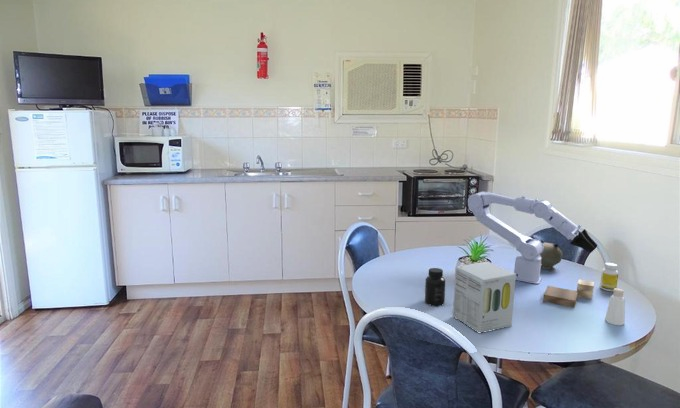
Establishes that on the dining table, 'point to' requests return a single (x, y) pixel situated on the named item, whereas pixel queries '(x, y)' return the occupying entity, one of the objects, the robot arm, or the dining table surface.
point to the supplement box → (484, 296)
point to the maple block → (585, 289)
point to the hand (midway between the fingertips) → (594, 249)
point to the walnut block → (560, 296)
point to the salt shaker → (616, 308)
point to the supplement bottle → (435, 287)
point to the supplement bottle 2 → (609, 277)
